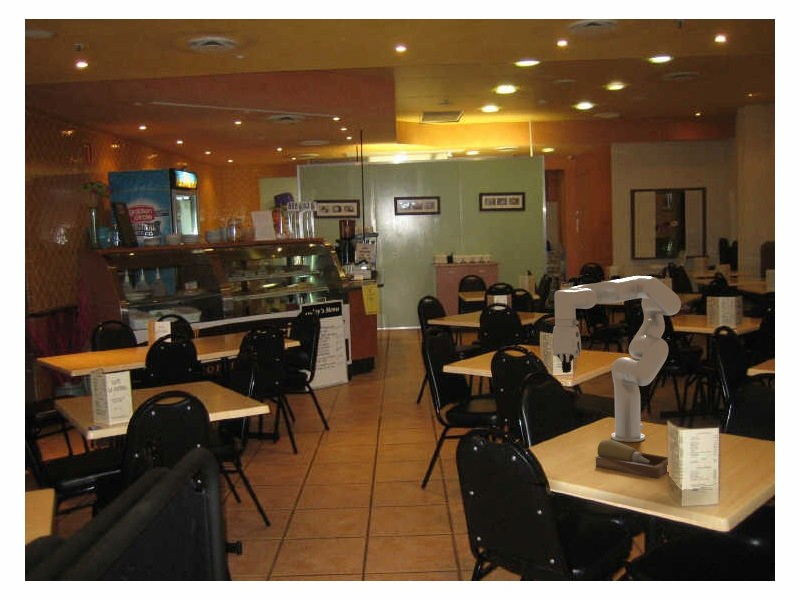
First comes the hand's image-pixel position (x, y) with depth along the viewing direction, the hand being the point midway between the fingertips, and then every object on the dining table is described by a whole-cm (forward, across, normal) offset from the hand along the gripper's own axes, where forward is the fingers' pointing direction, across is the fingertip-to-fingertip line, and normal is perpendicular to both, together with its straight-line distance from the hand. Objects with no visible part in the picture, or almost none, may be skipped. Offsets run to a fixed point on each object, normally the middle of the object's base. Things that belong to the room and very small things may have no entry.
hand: (566, 372), depth 280 cm
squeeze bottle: (+24, -17, +8) cm, 31 cm away
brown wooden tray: (+29, -30, +8) cm, 42 cm away
